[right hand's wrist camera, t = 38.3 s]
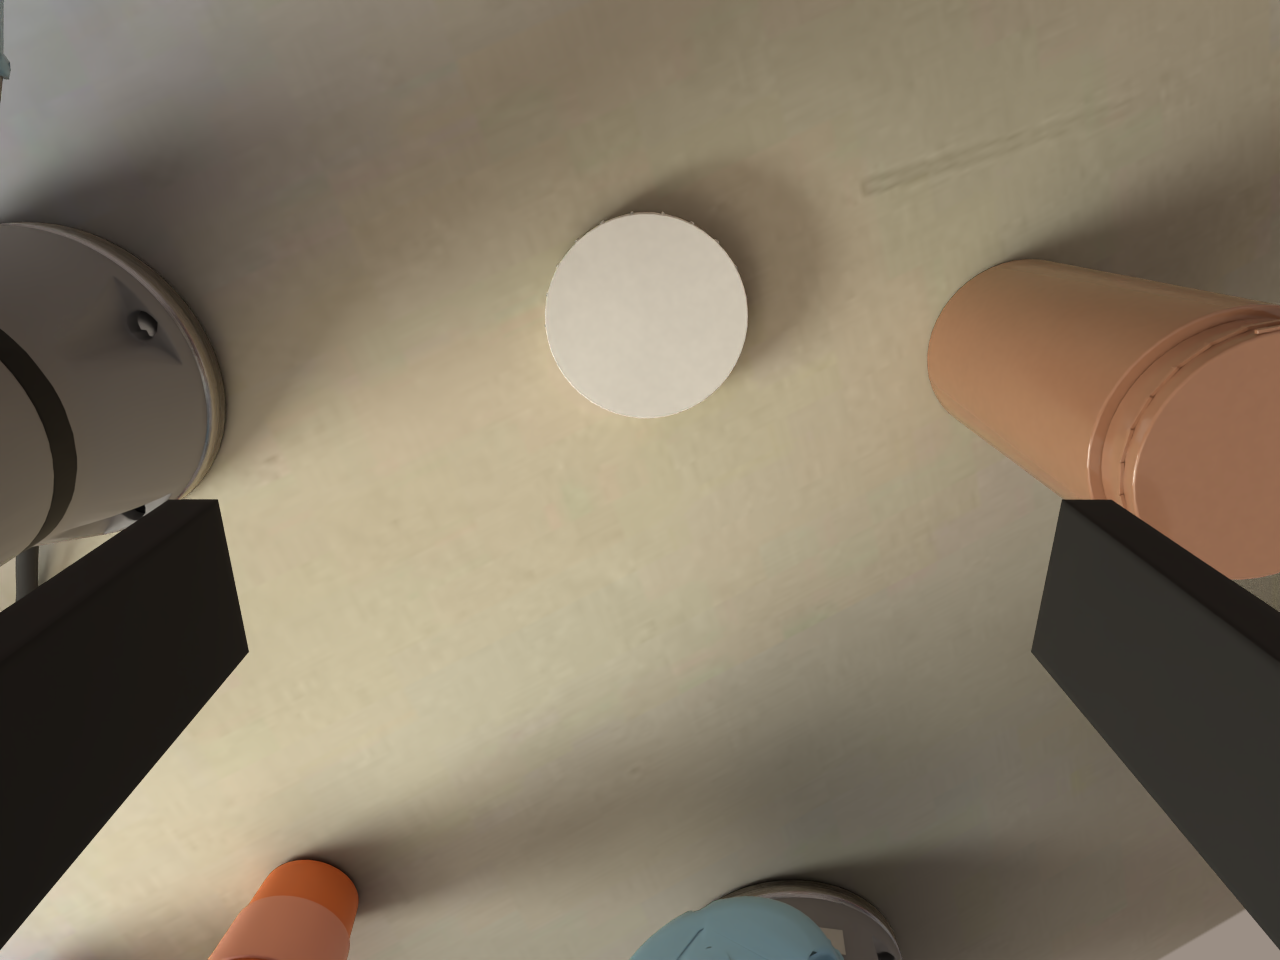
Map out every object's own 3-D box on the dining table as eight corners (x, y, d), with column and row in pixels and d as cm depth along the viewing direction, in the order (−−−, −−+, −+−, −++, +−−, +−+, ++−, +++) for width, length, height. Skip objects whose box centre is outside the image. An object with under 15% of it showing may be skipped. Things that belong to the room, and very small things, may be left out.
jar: (1102, 415, 40) (1401, 566, 24) (932, 446, 41) (1116, 612, 25) (1105, 242, 37) (1447, 286, 21) (921, 278, 38) (1122, 346, 22)
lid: (599, 172, 36) (597, 172, 34) (780, 267, 38) (787, 272, 36) (517, 357, 39) (511, 366, 37) (688, 438, 41) (690, 450, 39)
